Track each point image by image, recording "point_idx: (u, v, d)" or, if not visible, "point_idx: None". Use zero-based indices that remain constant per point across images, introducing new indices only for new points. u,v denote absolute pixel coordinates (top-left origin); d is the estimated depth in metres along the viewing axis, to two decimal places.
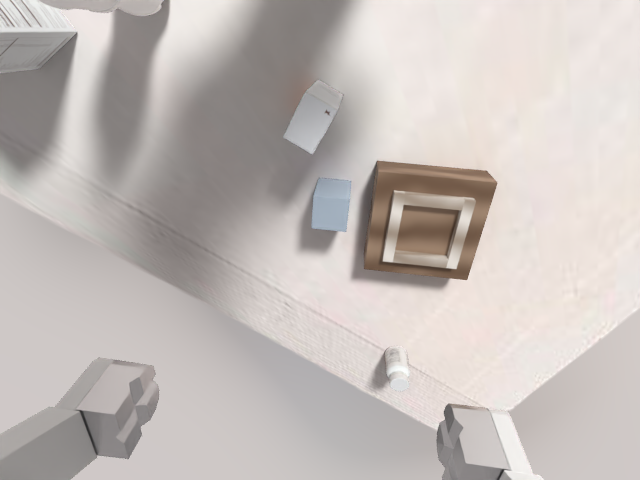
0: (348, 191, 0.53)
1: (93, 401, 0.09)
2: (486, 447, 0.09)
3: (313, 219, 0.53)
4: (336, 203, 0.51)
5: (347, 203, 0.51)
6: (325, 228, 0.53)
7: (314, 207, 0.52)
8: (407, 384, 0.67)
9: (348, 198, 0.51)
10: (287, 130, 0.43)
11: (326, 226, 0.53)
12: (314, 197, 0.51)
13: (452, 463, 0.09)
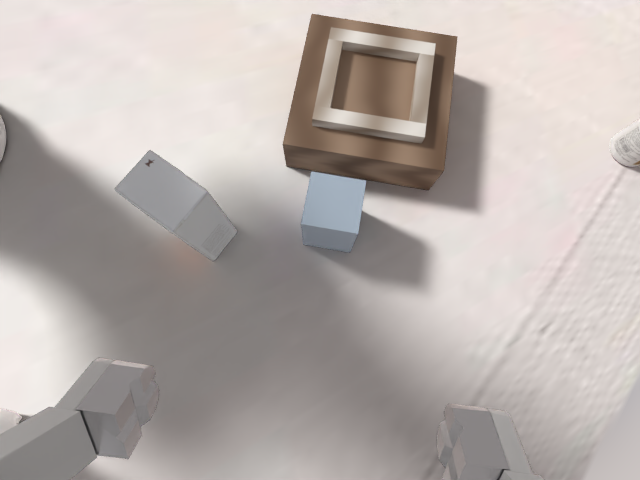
0: None
1: (93, 401, 0.09)
2: (486, 447, 0.09)
3: (342, 228, 0.32)
4: (316, 190, 0.33)
5: (317, 175, 0.33)
6: (359, 211, 0.33)
7: (320, 224, 0.32)
8: None
9: (311, 174, 0.34)
10: (163, 222, 0.27)
11: (355, 209, 0.33)
12: (303, 222, 0.32)
13: (452, 463, 0.09)
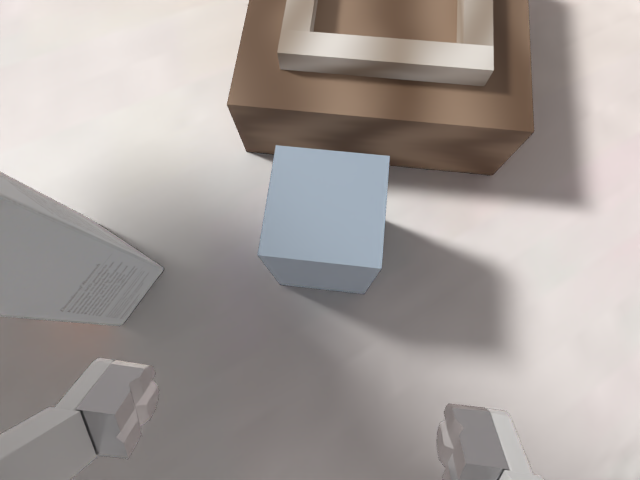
0: None
1: (93, 401, 0.09)
2: (486, 447, 0.09)
3: (346, 259, 0.15)
4: (287, 183, 0.16)
5: (288, 151, 0.16)
6: (380, 220, 0.15)
7: (300, 253, 0.15)
8: None
9: None
10: None
11: (372, 216, 0.15)
12: (263, 251, 0.15)
13: (452, 463, 0.09)
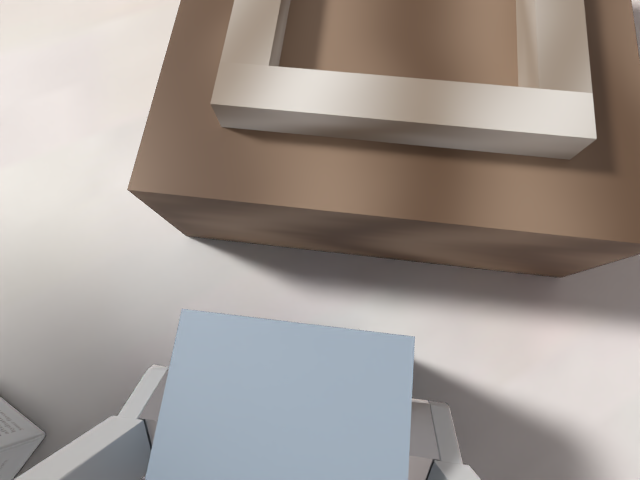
0: None
1: (155, 410, 0.09)
2: (420, 438, 0.09)
3: None
4: (199, 399, 0.08)
5: (206, 324, 0.08)
6: None
7: None
8: None
9: None
10: None
11: None
12: None
13: None
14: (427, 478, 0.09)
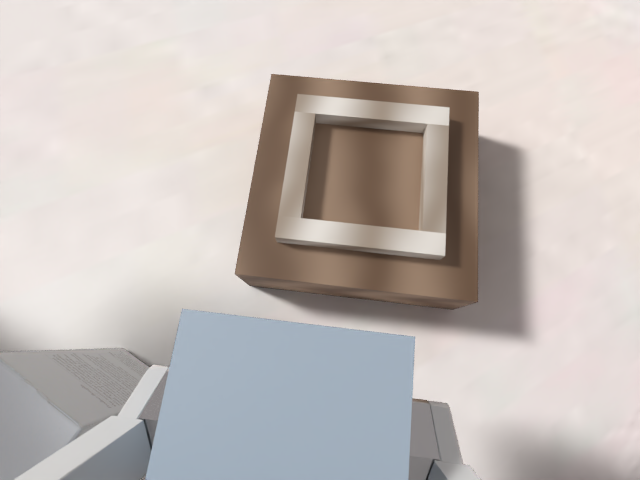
0: None
1: (155, 410, 0.09)
2: (420, 438, 0.09)
3: None
4: (199, 399, 0.08)
5: (207, 324, 0.08)
6: None
7: None
8: None
9: None
10: None
11: None
12: None
13: None
14: (427, 478, 0.09)
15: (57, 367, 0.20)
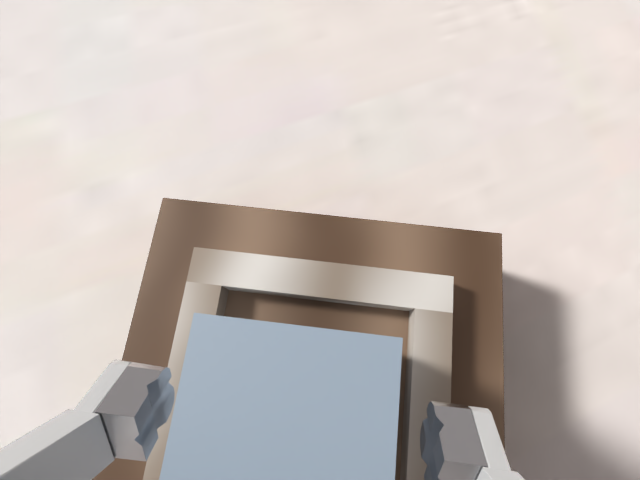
0: None
1: (112, 404, 0.09)
2: (466, 444, 0.09)
3: None
4: (210, 393, 0.08)
5: (216, 326, 0.09)
6: None
7: None
8: None
9: None
10: None
11: (369, 472, 0.08)
12: None
13: (433, 460, 0.09)
14: None
15: None
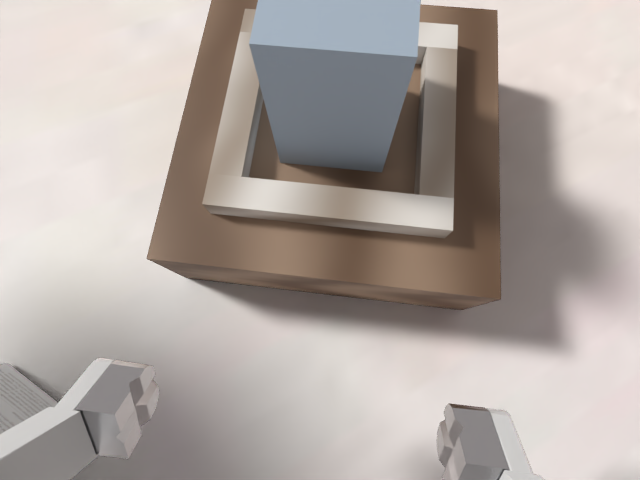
0: None
1: (93, 401, 0.09)
2: (486, 447, 0.09)
3: (368, 47, 0.11)
4: None
5: None
6: (413, 2, 0.11)
7: (306, 41, 0.11)
8: None
9: None
10: None
11: None
12: (256, 39, 0.11)
13: (452, 463, 0.09)
14: None
15: None
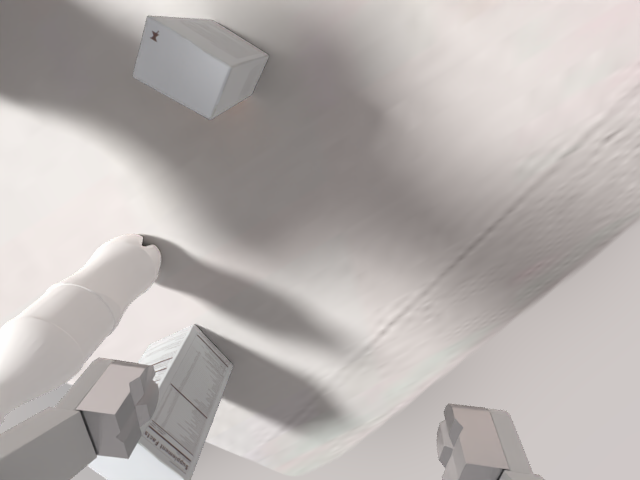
0: None
1: (93, 401, 0.09)
2: (486, 447, 0.09)
3: None
4: None
5: None
6: None
7: None
8: None
9: None
10: (197, 111, 0.26)
11: None
12: None
13: (452, 463, 0.09)
14: None
15: (189, 29, 0.26)
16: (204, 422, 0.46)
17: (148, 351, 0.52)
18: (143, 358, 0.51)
